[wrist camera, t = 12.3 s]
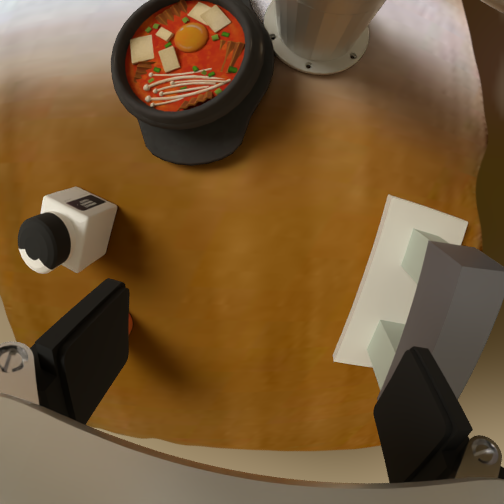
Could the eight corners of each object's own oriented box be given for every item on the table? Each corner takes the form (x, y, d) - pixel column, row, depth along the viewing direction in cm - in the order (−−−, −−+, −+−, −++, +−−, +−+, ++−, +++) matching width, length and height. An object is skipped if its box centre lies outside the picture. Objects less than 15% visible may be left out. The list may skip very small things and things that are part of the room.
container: (76, 185, 40) (14, 203, 28) (119, 205, 41) (62, 230, 28) (66, 233, 43) (8, 263, 30) (106, 254, 43) (53, 292, 31)
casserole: (273, 165, 37) (270, 170, 29) (127, 166, 39) (94, 173, 31) (275, -20, 29) (272, -53, 21) (136, -5, 31) (108, -28, 23)
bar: (428, 240, 28) (462, 266, 21) (474, 247, 27) (511, 272, 21) (377, 398, 34) (389, 440, 28) (418, 397, 34) (435, 436, 27)
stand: (388, 194, 37) (421, 211, 27) (462, 219, 37) (506, 242, 27) (332, 355, 45) (341, 405, 35) (402, 365, 44) (421, 411, 35)
